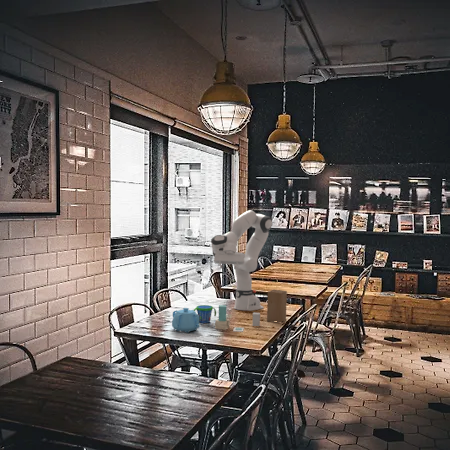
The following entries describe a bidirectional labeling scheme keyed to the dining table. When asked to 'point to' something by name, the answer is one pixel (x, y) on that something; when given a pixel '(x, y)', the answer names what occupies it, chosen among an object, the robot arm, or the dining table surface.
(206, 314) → the snack cup
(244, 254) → the robot arm
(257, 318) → the grey block
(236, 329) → the tile
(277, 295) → the wooden block
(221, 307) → the teal block
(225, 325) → the maple block
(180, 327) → the decorative pot
